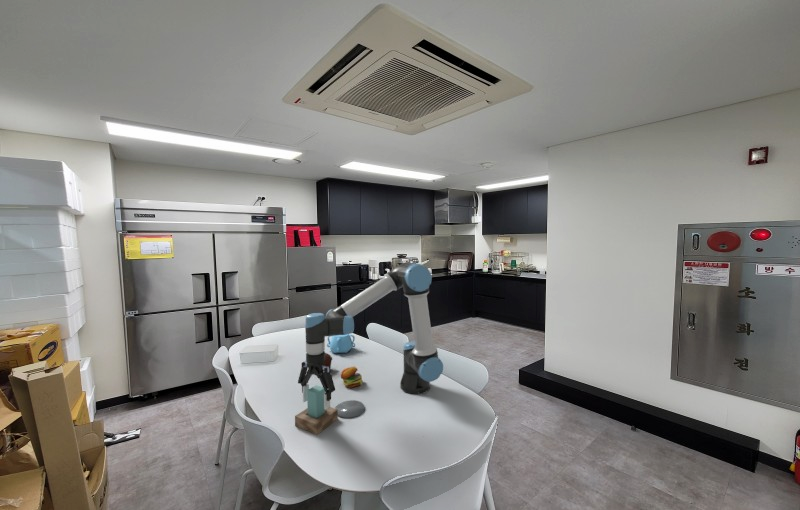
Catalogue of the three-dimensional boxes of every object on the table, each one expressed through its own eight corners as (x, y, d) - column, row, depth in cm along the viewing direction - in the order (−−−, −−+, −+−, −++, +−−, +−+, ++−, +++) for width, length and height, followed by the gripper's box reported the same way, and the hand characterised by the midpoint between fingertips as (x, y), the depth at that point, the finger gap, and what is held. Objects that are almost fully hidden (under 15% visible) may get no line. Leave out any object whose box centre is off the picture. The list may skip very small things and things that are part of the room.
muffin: (321, 377, 169) (321, 359, 168) (307, 372, 174) (307, 355, 174) (336, 369, 179) (336, 352, 178) (323, 365, 185) (322, 349, 184)
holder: (337, 418, 128) (337, 409, 128) (316, 434, 118) (316, 424, 118) (316, 411, 134) (316, 402, 134) (295, 425, 124) (294, 416, 124)
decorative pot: (357, 351, 208) (357, 332, 207) (335, 357, 198) (335, 336, 198) (346, 345, 221) (346, 326, 220) (325, 350, 211) (325, 330, 211)
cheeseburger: (359, 389, 154) (354, 370, 154) (340, 392, 156) (335, 373, 156) (365, 380, 164) (361, 362, 164) (347, 383, 166) (343, 365, 166)
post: (325, 420, 127) (325, 387, 126) (316, 427, 123) (316, 393, 122) (316, 417, 129) (316, 385, 129) (307, 423, 125) (307, 390, 124)
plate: (370, 406, 138) (370, 404, 138) (352, 421, 126) (352, 419, 126) (347, 399, 144) (347, 397, 144) (328, 413, 133) (328, 411, 133)
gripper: (343, 353, 122) (344, 407, 123) (302, 344, 134) (302, 393, 135) (331, 360, 116) (331, 416, 117) (288, 349, 127) (289, 401, 128)
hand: (316, 404), depth 126 cm, fingers open, 11 cm apart
